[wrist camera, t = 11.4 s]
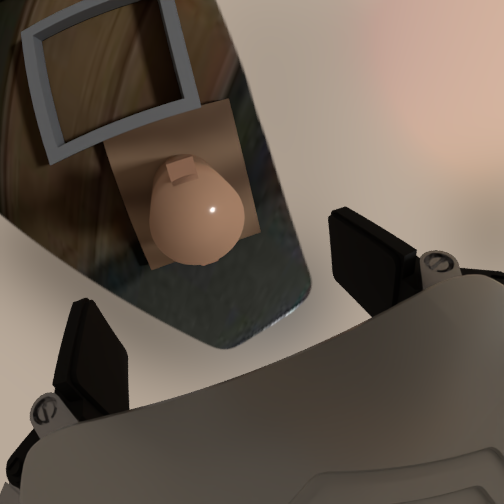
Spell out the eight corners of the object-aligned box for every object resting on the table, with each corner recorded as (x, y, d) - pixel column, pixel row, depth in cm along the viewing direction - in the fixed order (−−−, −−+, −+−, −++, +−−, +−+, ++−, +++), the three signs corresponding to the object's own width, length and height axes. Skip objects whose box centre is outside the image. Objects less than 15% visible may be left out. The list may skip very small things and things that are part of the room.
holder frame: (30, 37, 16) (20, 32, 14) (166, -16, 18) (167, -26, 16) (59, 161, 23) (50, 165, 20) (197, 108, 25) (201, 107, 23)
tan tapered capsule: (204, 135, 25) (228, 145, 16) (227, 222, 29) (259, 271, 21) (141, 155, 24) (130, 177, 16) (170, 242, 29) (178, 299, 20)
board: (104, 138, 23) (102, 139, 22) (225, 99, 25) (228, 98, 24) (151, 264, 30) (151, 270, 29) (257, 228, 32) (260, 232, 31)
